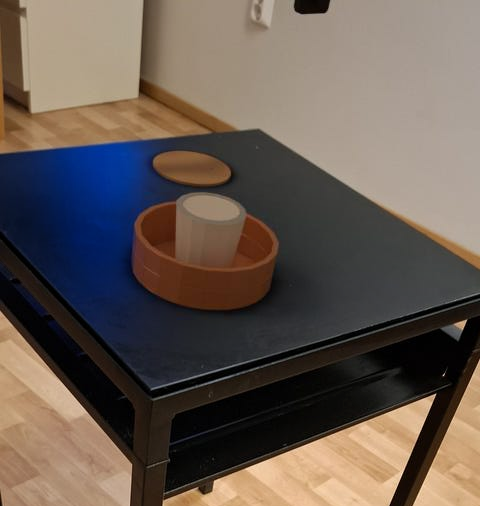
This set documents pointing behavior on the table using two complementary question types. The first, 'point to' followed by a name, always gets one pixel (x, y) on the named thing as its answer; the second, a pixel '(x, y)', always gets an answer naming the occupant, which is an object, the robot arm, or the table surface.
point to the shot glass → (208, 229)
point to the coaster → (191, 168)
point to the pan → (199, 277)
